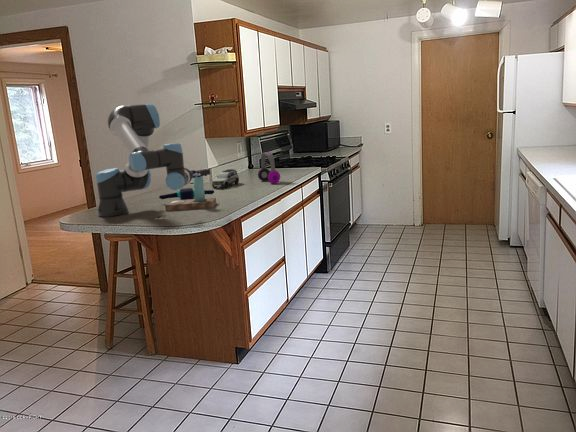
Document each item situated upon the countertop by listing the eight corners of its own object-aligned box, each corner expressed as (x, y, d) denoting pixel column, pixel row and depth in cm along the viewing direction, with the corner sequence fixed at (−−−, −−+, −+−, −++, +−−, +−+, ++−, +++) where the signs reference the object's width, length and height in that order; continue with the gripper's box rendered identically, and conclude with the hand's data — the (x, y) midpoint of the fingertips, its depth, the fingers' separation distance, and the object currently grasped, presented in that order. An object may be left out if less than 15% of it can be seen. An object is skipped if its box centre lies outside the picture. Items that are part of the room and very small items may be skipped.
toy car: (210, 189, 321) (208, 174, 318) (223, 183, 344) (221, 169, 341) (229, 189, 318) (227, 173, 315) (241, 182, 341) (239, 168, 338)
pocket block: (166, 212, 256) (165, 204, 255) (172, 208, 268) (171, 200, 267) (212, 209, 255) (211, 201, 254) (216, 205, 267) (215, 197, 266)
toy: (162, 200, 301) (158, 207, 271) (160, 186, 299) (156, 192, 270) (213, 195, 306) (215, 201, 277) (212, 181, 304) (214, 187, 275)
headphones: (257, 181, 341) (254, 152, 336) (269, 179, 344) (267, 150, 340) (269, 184, 322) (266, 153, 318) (281, 183, 326) (279, 152, 321)
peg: (195, 207, 259) (191, 176, 255) (197, 205, 264) (193, 175, 260) (204, 206, 258) (201, 176, 255) (206, 205, 263) (203, 174, 260)
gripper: (155, 187, 226) (168, 180, 247) (210, 183, 225) (218, 176, 246) (153, 170, 224) (166, 165, 245) (208, 166, 223) (216, 161, 244)
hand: (192, 171), depth 245 cm, fingers open, 13 cm apart
